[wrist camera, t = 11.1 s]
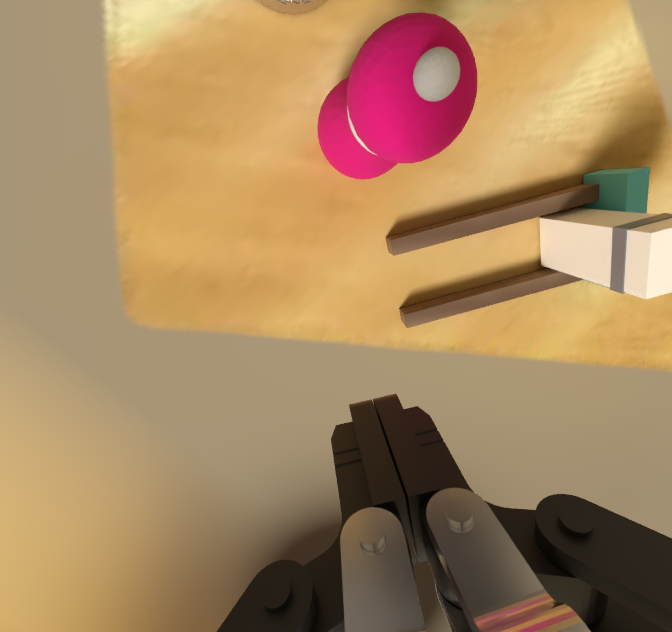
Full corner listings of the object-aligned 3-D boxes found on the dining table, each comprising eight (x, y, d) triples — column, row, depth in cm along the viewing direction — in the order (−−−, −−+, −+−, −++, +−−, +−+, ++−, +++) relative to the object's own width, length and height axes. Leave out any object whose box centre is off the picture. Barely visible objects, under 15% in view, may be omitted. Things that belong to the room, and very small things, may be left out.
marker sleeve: (538, 217, 36) (650, 232, 25) (578, 206, 36) (707, 216, 25) (540, 266, 38) (644, 300, 27) (577, 256, 38) (697, 286, 27)
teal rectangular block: (583, 174, 35) (627, 173, 31) (602, 169, 35) (649, 167, 31) (582, 279, 39) (621, 291, 35) (599, 274, 39) (640, 286, 35)
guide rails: (385, 237, 35) (391, 240, 33) (597, 180, 36) (614, 180, 34) (401, 321, 38) (407, 328, 37) (595, 267, 39) (610, 272, 37)
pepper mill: (297, 122, 31) (307, 27, 12) (368, 70, 30) (492, -114, 12) (343, 195, 33) (408, 210, 15) (408, 149, 33) (564, 103, 14)
